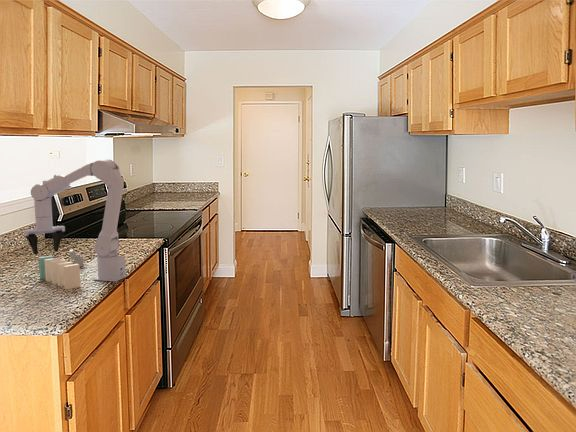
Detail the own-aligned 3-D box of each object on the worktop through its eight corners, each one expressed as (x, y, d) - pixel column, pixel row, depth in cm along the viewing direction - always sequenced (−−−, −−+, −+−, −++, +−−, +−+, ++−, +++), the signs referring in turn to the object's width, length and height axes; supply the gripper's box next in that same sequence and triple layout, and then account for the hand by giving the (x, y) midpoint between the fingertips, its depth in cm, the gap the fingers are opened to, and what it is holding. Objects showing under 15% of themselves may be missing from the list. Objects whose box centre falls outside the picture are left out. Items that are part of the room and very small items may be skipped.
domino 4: (80, 286, 189) (79, 264, 188) (66, 289, 186) (65, 266, 184) (78, 285, 190) (77, 263, 189) (64, 288, 187) (63, 266, 185)
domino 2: (67, 281, 196) (66, 260, 195) (53, 284, 192) (52, 262, 191) (65, 280, 197) (64, 259, 196) (51, 283, 193) (50, 261, 192)
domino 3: (73, 283, 193) (72, 262, 191) (59, 286, 189) (58, 264, 188) (71, 283, 194) (70, 261, 192) (57, 285, 190) (56, 263, 189)
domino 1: (61, 279, 199) (59, 258, 198) (47, 281, 196) (46, 260, 194) (59, 278, 200) (57, 257, 199) (45, 280, 197) (44, 259, 195)
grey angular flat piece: (79, 265, 221) (78, 246, 220) (83, 265, 221) (82, 246, 220) (69, 269, 214) (68, 250, 213) (73, 269, 214) (72, 250, 213)
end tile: (54, 276, 203) (53, 256, 201) (41, 279, 199) (40, 258, 198) (53, 276, 204) (51, 255, 203) (39, 278, 200) (38, 257, 199)
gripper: (58, 213, 206) (60, 248, 208) (19, 217, 195) (21, 253, 197) (66, 215, 201) (68, 250, 203) (27, 219, 191) (29, 256, 193)
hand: (45, 252), depth 200 cm, fingers open, 7 cm apart
